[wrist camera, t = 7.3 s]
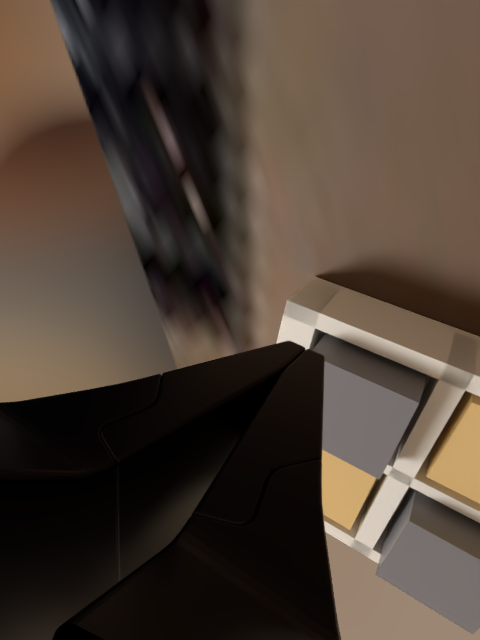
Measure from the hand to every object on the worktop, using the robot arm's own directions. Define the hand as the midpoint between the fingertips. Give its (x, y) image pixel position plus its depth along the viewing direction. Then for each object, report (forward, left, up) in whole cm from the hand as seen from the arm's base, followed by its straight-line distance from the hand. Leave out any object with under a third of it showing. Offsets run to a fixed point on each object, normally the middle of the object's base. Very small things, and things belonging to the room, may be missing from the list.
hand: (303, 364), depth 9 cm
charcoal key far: (-7, +13, -10) cm, 18 cm away
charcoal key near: (-1, +7, -10) cm, 12 cm away
